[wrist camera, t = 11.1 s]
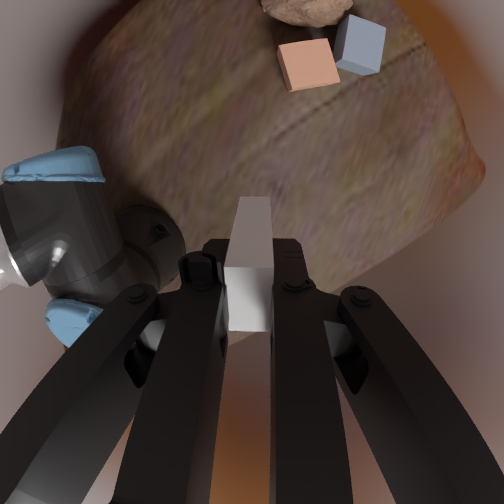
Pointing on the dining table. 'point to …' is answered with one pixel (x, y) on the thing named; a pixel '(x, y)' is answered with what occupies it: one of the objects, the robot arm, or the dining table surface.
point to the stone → (307, 11)
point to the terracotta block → (307, 64)
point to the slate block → (359, 45)
